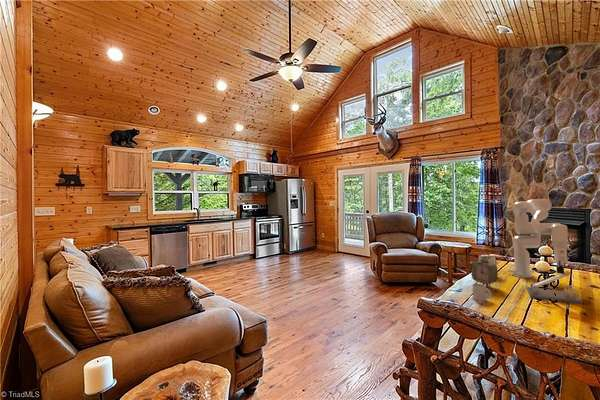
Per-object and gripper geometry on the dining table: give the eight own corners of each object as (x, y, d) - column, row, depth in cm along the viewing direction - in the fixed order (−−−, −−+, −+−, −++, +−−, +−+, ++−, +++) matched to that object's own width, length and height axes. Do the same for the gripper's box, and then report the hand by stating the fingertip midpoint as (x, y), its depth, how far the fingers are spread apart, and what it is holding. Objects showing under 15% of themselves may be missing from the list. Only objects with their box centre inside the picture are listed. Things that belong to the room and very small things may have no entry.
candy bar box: (493, 274, 232) (493, 254, 232) (497, 276, 227) (496, 255, 227) (479, 274, 234) (478, 254, 234) (481, 276, 229) (481, 255, 229)
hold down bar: (534, 288, 185) (532, 286, 186) (533, 286, 189) (531, 284, 189) (571, 275, 175) (569, 272, 176) (570, 273, 179) (567, 270, 179)
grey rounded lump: (474, 296, 188) (473, 283, 188) (492, 299, 182) (491, 285, 182) (471, 299, 183) (471, 286, 183) (490, 303, 176) (490, 288, 176)
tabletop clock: (471, 284, 211) (470, 251, 210) (479, 282, 214) (478, 249, 214) (491, 290, 197) (490, 254, 197) (499, 288, 201) (498, 253, 200)
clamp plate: (530, 297, 182) (530, 286, 182) (527, 289, 195) (526, 279, 195) (582, 304, 169) (581, 292, 169) (574, 295, 182) (574, 284, 182)
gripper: (570, 246, 171) (571, 277, 171) (564, 242, 183) (565, 270, 184) (554, 245, 175) (555, 275, 175) (549, 241, 187) (550, 269, 188)
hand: (560, 273), depth 179 cm, fingers closed
